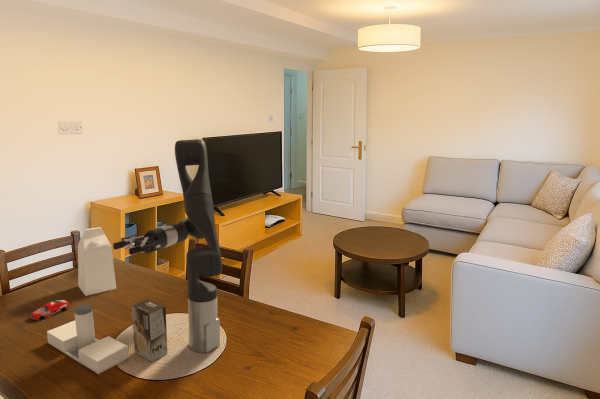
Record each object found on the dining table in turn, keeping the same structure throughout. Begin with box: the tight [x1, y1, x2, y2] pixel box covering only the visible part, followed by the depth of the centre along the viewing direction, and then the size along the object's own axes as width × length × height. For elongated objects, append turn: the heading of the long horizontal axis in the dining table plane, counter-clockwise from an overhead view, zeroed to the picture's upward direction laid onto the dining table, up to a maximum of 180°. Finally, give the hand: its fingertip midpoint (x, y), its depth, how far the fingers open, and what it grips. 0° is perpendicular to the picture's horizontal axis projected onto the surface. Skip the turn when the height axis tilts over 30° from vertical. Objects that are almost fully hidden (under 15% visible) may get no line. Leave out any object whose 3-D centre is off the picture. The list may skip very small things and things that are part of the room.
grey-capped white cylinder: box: [73, 303, 96, 350], centre depth 134 cm, size 5×5×14 cm
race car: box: [30, 299, 70, 321], centre depth 158 cm, size 13×5×4 cm, turn 147°
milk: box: [77, 226, 117, 297], centre depth 178 cm, size 12×12×26 cm
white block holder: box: [46, 319, 129, 375], centre depth 135 cm, size 28×10×4 cm, turn 57°
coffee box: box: [131, 298, 168, 362], centre depth 134 cm, size 9×6×16 cm
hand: (121, 249), depth 141 cm, fingers open, 8 cm apart
